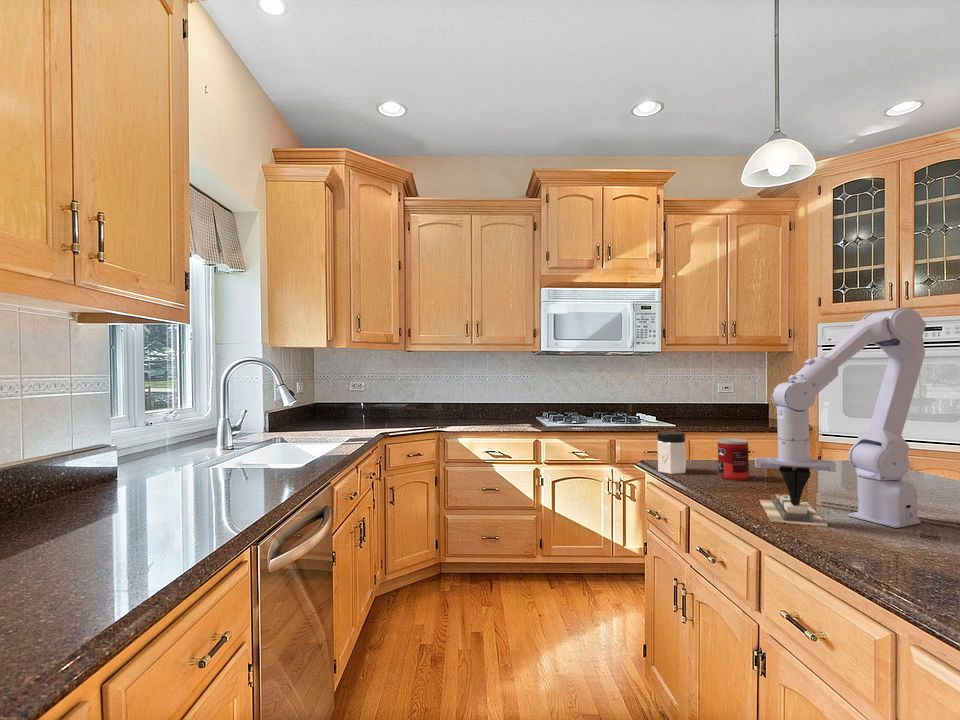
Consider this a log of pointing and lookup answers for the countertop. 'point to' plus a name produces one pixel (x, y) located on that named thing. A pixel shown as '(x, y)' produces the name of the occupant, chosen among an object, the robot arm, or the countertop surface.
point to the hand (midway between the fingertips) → (794, 503)
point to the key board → (791, 514)
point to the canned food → (733, 459)
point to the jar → (671, 452)
